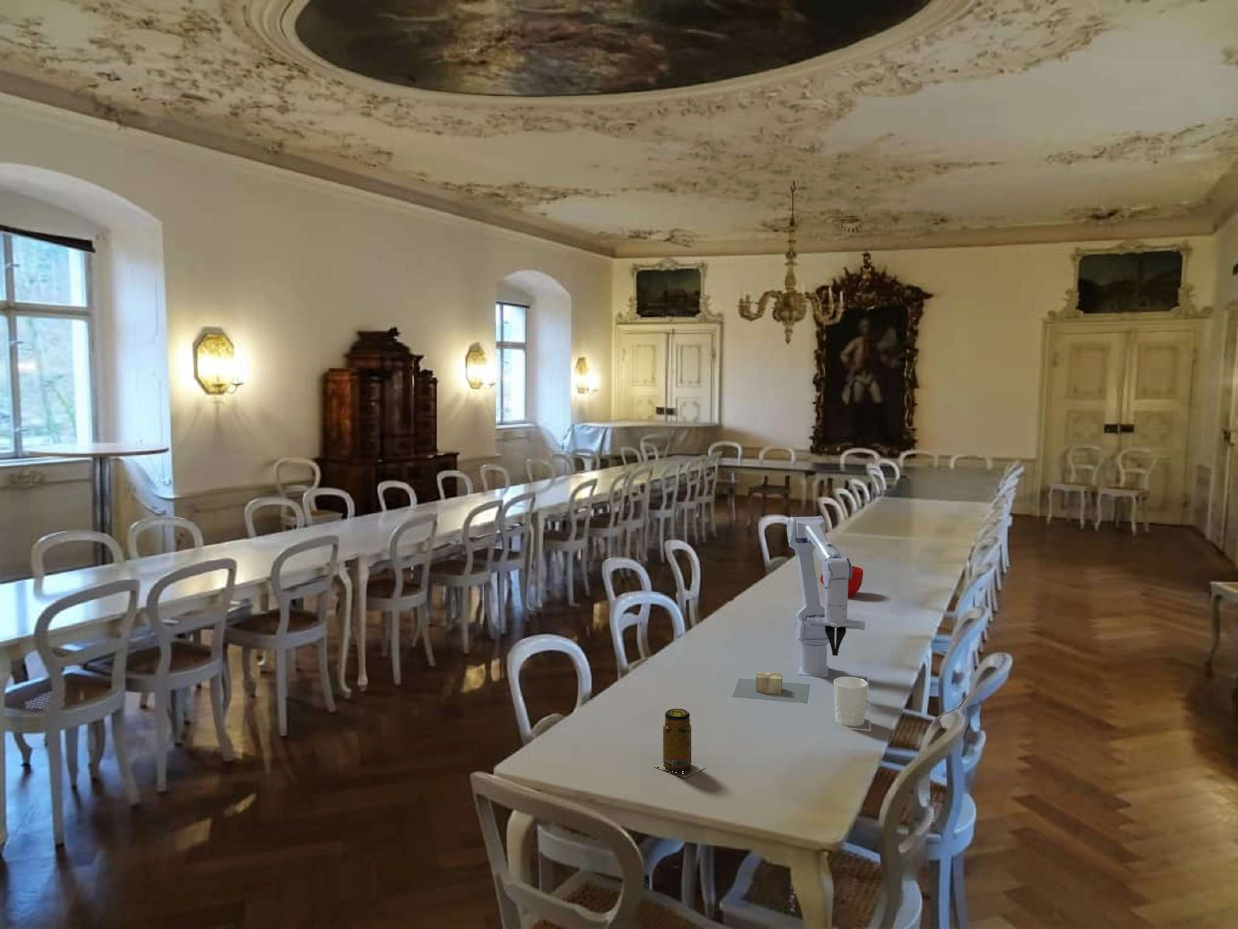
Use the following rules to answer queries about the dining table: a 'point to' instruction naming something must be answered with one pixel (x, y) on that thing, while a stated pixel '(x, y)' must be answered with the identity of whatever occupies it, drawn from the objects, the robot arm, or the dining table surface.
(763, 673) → the maple block
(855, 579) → the ceramic cup
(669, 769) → the condiment
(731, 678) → the dining table surface
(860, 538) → the dining table surface
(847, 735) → the dining table surface
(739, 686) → the rubber mat
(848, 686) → the white cup
